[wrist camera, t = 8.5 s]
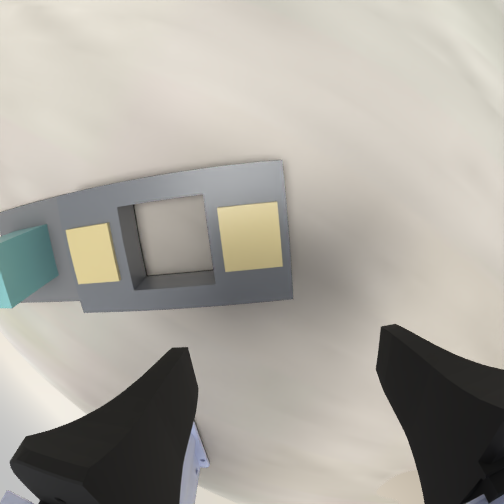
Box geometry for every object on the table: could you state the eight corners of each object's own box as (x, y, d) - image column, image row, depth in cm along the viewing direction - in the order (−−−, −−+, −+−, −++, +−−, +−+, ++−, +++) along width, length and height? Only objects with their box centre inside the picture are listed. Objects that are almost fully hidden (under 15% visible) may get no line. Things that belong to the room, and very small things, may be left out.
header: (288, 283, 20) (294, 301, 18) (98, 297, 21) (81, 314, 18) (278, 160, 18) (282, 159, 15) (75, 192, 19) (53, 197, 16)
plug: (58, 275, 20) (6, 312, 14) (25, 278, 20) (-25, 311, 14) (47, 224, 19) (-13, 248, 13) (14, 231, 19) (-42, 255, 13)
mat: (88, 298, 21) (86, 300, 21) (21, 300, 21) (19, 302, 21) (65, 194, 19) (62, 195, 18) (-1, 212, 19) (-4, 213, 19)
